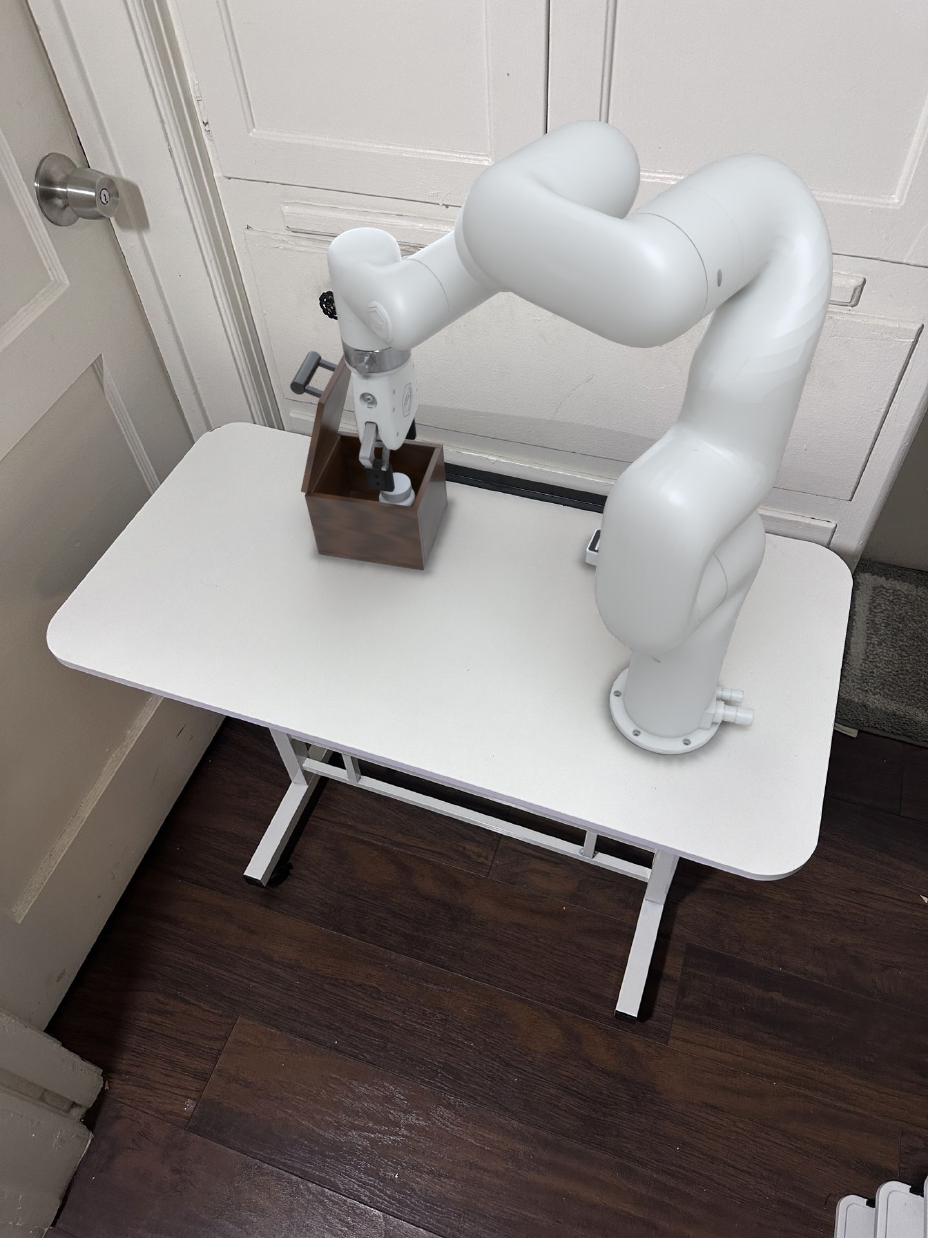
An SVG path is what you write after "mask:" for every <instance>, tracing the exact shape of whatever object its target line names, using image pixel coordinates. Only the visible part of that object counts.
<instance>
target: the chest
mask: <svg viewBox="0 0 928 1238" xmlns="http://www.w3.org/2000/svg"><path fill="white" fill-rule="evenodd" d="M376 442H382V440H381V438H380V437H379V436H377V439H376ZM382 443H383V442H382ZM361 445H362V444H361V442H360V439H359V436H358V432H352V431H351V432H350V431H343V430H338V432H337V434H336V436H335V438H334V440H333V442H332V444H331V446H330V448H329V450H328V452H327V454H326V456H325V458H324V460H323V462H322V464H321V466H320V468H319V470H318V472H317V474H316V476H315V478H314V480H313V482H312V484H311V486H310V488H309V490H308V492H307V494H306V493H304V499H305V503H306V508H307V511H308V516H309V519H310V524H311V527H312V531H313V536H314V540H315V545H316V548H317V552H318V555H321V556H328V557H334V558H341V559H348V560H355V561H361V562H367V563H373V564H379V565H386V566H393V567H399V568H404V569H411V570H419V571H425V568H426V566H427V563H428V561H429V558H430V554H431V552H432V549H433V546H434V543H435V541H436V538H437V535H438V532H439V529H440V527H441V524H442V521H443V519H444V517H445V516H444V515H445V513H446V511H447V508H448V504H449V503H448V493H447V492H448V491H447V478H446V466H445V465H446V464H445V453H444V444H442V443H437V442H427V441H420V440H407V439H404V442H403V444H402V445H401V446H400V447H399V448H398V449H397V450H392V449H390V454H389V464H390V465H392V471H393V473H402V474H404V475H406V476H407V477H408V478H409V479H410V482H411V486H412V489H413V491H414V493H415V502H414V504H413V507H412V506H405V505H398V504H391V503H384V502H379V495H380V491H379V490H372V489H370V488H369V486H368V480H367V475H366V469H365V468H363V467H362V464H361V462H360V460H359V454H360V449H361ZM382 453H383V448H378V447H375V448H374V456H375V459H380V460H382Z"/></svg>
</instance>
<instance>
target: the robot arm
mask: <svg viewBox="0 0 928 1238" xmlns="http://www.w3.org/2000/svg"><path fill="white" fill-rule="evenodd" d="M640 184H641V164H640V160H639V156H638V152H637V151H636V149H635V147H634V145H633V143H632V141H631V140H630V139H629V138H628V137H627V136H626V134H625V133H623V132H622V131H621V130H620V129H619V128H618V127H616V126H614V125H612V124H610V123H608V122H604V121H601V120H595V119H582V120H576V121H573V122H569V123H565V124H563V125H561V126H559V127H556V128H554V129H552V130H549V132H547V133H545V134H543V135H541V136H540V137H538V138H536V139H535V140H533V141H531V142H530V143H527V144H526V145H524V146H522V147H521V148H518V149H517V150H515V151H514V152H512V153H509V154H508V155H507V156H505V157H503V158H501V159H499V160H498V161H496V162H494V163H492V164H491V165H490V166H488V167H487V168H486V169H484V170H482V172H481V173H480V174H479V175H478V176H477V177H476V178H475V179H474V181H473V182H472V184H471V186H470V187H469V188H468V191H467V192H466V195H465V198H464V201H463V204H462V206H461V207H460V209H459V211H458V213H457V215H456V219H455V221H454V229H452V230H451V231H449V233H446V235H443V236H442V237H441V238H439V239H437V240H435V241H433V242H431V243H429V244H427V245H426V246H425V247H423V248H422V249H420V250H418V251H417V252H415V253H413V254H412V255H410V256H408V257H406V258H405V259H403V260H402V253H401V249H400V245H399V243H398V241H397V239H396V238H395V237H394V236H393V235H392V234H390V233H389V232H388V231H386V230H384V229H381V228H376V227H358V228H352V229H348V230H346V231H344V232H342V233H340V234H339V235H338V236H336V237H334V239H333V240H331V243H330V245H329V246H328V249H327V255H326V256H327V257H326V258H327V266H328V273H329V278H330V283H331V289H332V295H333V302H334V307H335V312H336V317H337V323H338V324H337V325H338V329H339V334H340V340H341V347H342V351H343V354H344V358H345V363H346V365H347V367H348V368H349V369H350V370H351V371H352V372H351V391H352V402H353V411H354V412H353V413H354V420H355V427H356V431H357V433H358V436H359V439H360V442H361V444H362V445H361V449H360V454H359V460H360V462H361V464H362V467H363V468H365V469H366V475H367V480H368V486H369V488H370V489H372V490H379V491H386V492H393V491H394V489H395V485H394V478H393V471H392V465H390V464H389V454H390V449H392V450H397V449H398V448H399V447H400V446H401V445H402V444H403V442H404V439H405V440H413V441H416V439H417V428H416V427H417V426H416V419H415V416H416V413H417V411H418V408H419V404H420V396H419V388H418V383H417V376H416V370H415V364H414V358H413V352H412V349H414V348H417V346H420V345H421V344H423V343H424V342H425V341H427V340H429V339H431V338H432V337H433V336H435V335H436V334H438V333H439V332H441V331H442V330H444V329H445V328H446V327H448V326H449V325H451V324H452V323H454V322H455V321H457V320H458V319H460V318H462V317H463V316H465V315H466V314H468V313H470V312H471V311H473V310H475V309H476V308H477V307H479V306H480V305H482V304H484V303H485V302H487V301H488V300H489V299H491V298H493V297H494V296H495V295H497V294H499V293H512V294H514V295H516V296H517V297H519V298H521V299H523V300H525V301H527V302H528V303H531V304H533V305H535V306H537V307H539V308H541V309H543V310H546V311H548V312H549V313H551V314H554V315H556V316H557V317H560V318H562V319H564V320H566V321H568V322H570V323H572V324H574V325H576V326H579V327H580V328H583V329H584V330H586V331H589V332H591V333H592V334H595V335H597V336H599V337H600V338H603V339H606V340H608V341H611V342H612V343H616V344H618V345H622V346H626V347H629V348H637V349H639V348H640V349H651V348H656V347H659V346H664V345H667V344H668V343H670V342H673V341H674V340H676V339H678V338H680V337H681V336H683V335H684V334H686V333H687V332H688V331H690V330H691V329H692V328H693V327H694V326H696V325H697V324H699V323H700V322H701V321H702V320H703V319H705V318H706V317H707V316H708V315H709V318H708V320H707V322H706V325H705V327H704V329H703V331H702V333H701V336H700V338H699V340H698V342H697V345H696V347H695V349H694V352H693V355H692V357H691V361H690V365H689V371H688V376H687V383H686V389H685V392H684V397H683V401H682V405H681V407H680V411H679V413H678V416H677V419H676V420H675V421H674V423H673V424H672V426H671V427H670V428H669V429H668V430H667V431H666V432H665V433H664V434H663V435H662V436H661V437H660V438H659V439H658V440H657V441H656V442H655V443H653V445H651V446H650V447H649V448H648V449H647V450H645V451H644V453H642V454H641V455H640V456H638V458H636V459H635V460H633V462H632V463H630V465H629V466H627V468H626V469H625V470H624V471H623V472H622V473H621V474H620V475H619V477H618V478H617V480H616V481H615V482H614V484H613V486H612V488H611V489H610V490H609V492H608V495H607V496H606V497H607V498H606V501H605V504H604V507H603V512H602V518H601V525H600V529H601V533H600V541H599V549H598V557H597V565H596V566H595V573H594V574H595V575H594V598H595V603H596V608H597V611H598V614H599V616H600V619H601V621H602V622H603V624H604V626H605V628H606V629H607V630H608V632H609V633H610V634H611V636H612V637H613V638H614V639H615V640H616V641H618V642H619V643H620V644H621V645H623V646H624V647H626V648H628V649H629V650H631V651H630V657H629V663H628V666H627V667H626V668H624V670H622V671H621V672H620V673H619V674H618V675H617V676H616V679H615V680H614V682H613V684H612V686H611V689H610V695H609V710H610V714H611V718H612V720H613V722H614V724H615V726H616V728H617V729H618V730H619V732H620V733H621V734H622V735H623V736H624V737H625V738H626V739H627V740H629V741H630V742H632V744H634V745H636V746H638V747H639V748H642V749H644V750H646V751H649V752H653V753H656V754H663V755H681V754H686V753H689V752H693V751H695V750H697V749H699V748H701V747H703V746H704V745H706V743H708V742H710V740H711V739H712V738H713V737H715V734H716V733H717V730H719V727H720V724H722V721H724V722H729V723H734V724H735V725H742V726H748V727H751V726H752V724H753V722H754V721H753V720H754V712H755V710H754V708H751V707H744V706H740V705H739V706H738V705H737V706H735V705H728V704H725V701H729V702H732V703H739V704H742V703H743V698H744V691H743V690H740V689H732V688H731V689H729V688H724V687H723V685H721V684H718V683H719V678H720V675H721V670H722V668H723V666H724V662H725V659H726V655H727V651H728V648H729V644H730V642H731V639H732V636H733V633H734V630H735V627H736V623H737V621H738V619H739V616H740V612H741V610H742V608H743V605H744V603H745V600H746V598H747V596H748V594H749V593H750V591H751V588H752V586H753V584H754V582H755V580H756V577H757V576H758V573H759V571H760V570H761V566H762V563H763V560H764V557H765V552H766V547H767V546H766V544H767V535H766V529H765V525H764V521H763V518H762V517H761V514H760V512H759V511H758V509H759V507H760V506H761V505H762V504H763V503H764V501H765V500H766V499H767V498H768V496H769V495H770V493H771V491H772V490H773V487H774V485H775V483H776V480H777V478H778V475H779V472H780V468H781V464H782V462H783V461H782V460H783V458H784V454H785V452H786V451H785V450H786V448H787V445H788V441H789V438H790V435H791V432H792V429H793V425H794V423H795V419H796V416H797V413H798V410H799V406H800V402H801V399H802V394H803V390H804V387H805V384H806V381H807V377H808V375H809V371H810V368H811V365H812V362H813V360H814V357H815V353H816V350H817V348H818V345H819V341H820V339H821V335H822V332H823V328H824V325H825V321H826V318H827V313H828V311H829V305H830V299H831V294H832V286H833V279H834V278H833V277H834V275H833V273H834V260H833V257H834V256H833V255H834V254H833V246H832V240H831V235H830V230H829V227H828V224H827V221H826V220H827V219H826V218H825V216H824V212H823V211H822V208H821V206H820V204H819V202H818V200H817V198H816V197H815V195H814V193H813V192H812V190H811V188H810V187H809V186H808V184H807V183H806V182H805V180H804V179H803V178H802V177H801V176H800V175H799V174H798V173H797V172H796V170H793V169H792V168H791V167H790V166H789V165H788V164H786V163H784V162H783V161H781V160H780V159H779V158H776V157H773V156H771V155H767V154H765V153H753V152H745V153H738V154H732V155H728V156H725V157H722V158H719V159H717V160H714V161H711V162H710V163H707V164H705V165H703V166H701V167H700V168H698V169H696V170H695V171H692V173H690V174H688V175H686V176H685V177H683V178H682V179H680V180H678V181H677V182H676V183H674V184H672V185H671V186H669V187H668V188H667V189H665V190H663V191H662V192H661V193H659V194H658V195H656V196H655V197H653V198H652V199H650V200H649V201H647V202H645V203H644V204H643V205H641V206H640V207H638V208H637V209H635V210H633V211H632V212H630V211H631V209H632V208H633V206H634V204H635V203H636V199H637V197H638V194H639V190H640V186H641V185H640ZM377 436H379V437H380V438H381V440H382V442H383V443H382V442H376V439H377ZM375 447H378V448H383V453H382V460H380V459H375V456H374V448H375Z"/></svg>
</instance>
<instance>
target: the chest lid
mask: <svg viewBox="0 0 928 1238" xmlns="http://www.w3.org/2000/svg"><path fill="white" fill-rule="evenodd" d="M319 367H320V368H321V369H324V370H327V371H330V372H332V375H331V377H330V378H329V380H328V382H327V384H326V385H325V388H324V389H323V390H321V389H319V388H317V387H314V386H312V385H310V383H311V381H312V380H313V378H314V376H315V374H316V373H317V370H318V369H319ZM351 372H352V371H351V370H350V369H349V368H348V367H347V365H346V363H345V358H344V353H343V354H342V356H341V357H340V359H339V361H338V363H337V364H336V363H334V362H331V361H328V360H325V359H323V358H322V355H321V354H320V353H318V352H317V351H314V350H311V351H309V352H307V354H306V356H305V358H304V359H303V361H302V363H301V365H300V367H299V368H298V370H297V371H296V373H295V375H294V377H293V379H292V381H291V382H290V384H289V389H290V391H292V392H293V393H294V394H295V395H299V396H301V395H304V394H307V395H309V396H312V397H315V398H317V399H318V400H317V406H316V410H315V416H314V421H313V426H312V432H311V437H310V441H309V448H308V451H307V457H306V461H305V467H304V473H303V477H302V483H301V489H300V492H301V493H303V494H307V492H308V490H309V488H310V486H311V484H312V482H313V480H314V478H315V476H316V474H317V472H318V470H319V468H320V466H321V464H322V462H323V460H324V458H325V456H326V454H327V452H328V450H329V448H330V446H331V444H332V442H333V440H334V438H335V436H336V434H337V432H338V431H340V425H341V422H342V417H343V412H344V408H345V404H346V399H347V394H348V391H349V386H350V382H351V378H352V376H351Z"/></svg>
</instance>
